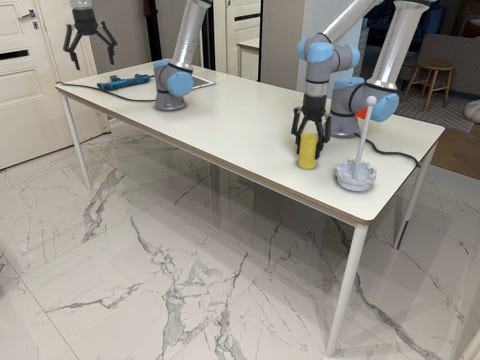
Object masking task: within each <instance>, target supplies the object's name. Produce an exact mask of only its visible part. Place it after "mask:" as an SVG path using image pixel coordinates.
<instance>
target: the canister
mask: <svg viewBox="0 0 480 360" xmlns="http://www.w3.org/2000/svg"><path fill="white" fill-rule="evenodd" d="M318 142H319V139H318V134H317V132H316V133H315V132H309V131H307V132H302V134H301V140H300V149H299V154H298V159H297V165H298V167H299V168H301V169H305V170H311V169H314V168H315V167H316V166H317V160H315V153H316V146H317V143H318Z"/></svg>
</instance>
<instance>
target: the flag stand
mask: <svg viewBox="0 0 480 360" xmlns="http://www.w3.org/2000/svg"><path fill="white" fill-rule="evenodd" d="M376 102H377V99H376V97H374V96H369V97H368V98H367V99H366V103H367V105H368V106H367V107H366V108H364V109H363V110H361V111H360V112H358V113H357V114H355V116H357V117H358V119H359V118H360V119H362V120H363V123H362V124H363V125H362V130H361V134H360V135H361V138H360V139H359V143H358V147H357V154H356V158H347V161H344V160H339V161H338V162H337V164H336V166H335V171H334V173H335V176H336V182H337V184H338V185H339V186H340V187H341V188H343V189H346V190H349V191H353V192H364V191H366V190H368V189H370V187H371V185H372V184H373V183H374V182H375V181H376V179H377V173H378V169H377V168H376V166H370V165H371V163H370V162H369V161H366V160H362V157H363V152H364V147H365V143H366V141H365V139H367V134H368V131H369V126H370V121H371V120H370V117H371V112H372V108H373V105H375V104H376Z"/></svg>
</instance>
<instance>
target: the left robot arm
mask: <svg viewBox="0 0 480 360" xmlns="http://www.w3.org/2000/svg"><path fill="white" fill-rule="evenodd" d="M68 1H69V5H70V8H71V13H72V17H73V23H74V24H73V23H72V24H70V23H66V24H65V27H66V32H65V36H64V41H63V46H62V51H64V52H65V53H69V57H70V60H71V62H73V63H74V65H75V69H76V71H81V67H80V63H79V60H78V59H79V58H78V56H77V52H75V50H76V48H77V46H78V45H79V43H80V40H81V39H82V38H83V36H84V37H87V36H94V35H96V36H97V37H98V38H99V39H100V40H101V41H102V42H104V43H105V45H107V46H106V49H107V55H108V59H109V64H110V65H112V66H114V65H115V61H114V56H115V55H116V54H115V47H116V46H118V42H117V41H116V39H115V37H114V36H113V35H112V33H111V32H110V30H109V29H108V27H107V25H106V21H104V20H100V21H97V20H96V15H95V10H94V9H93V8H92V7H93V1H92V0H68ZM212 3H213V0H186V4H185V7H184V12H183V16H182V20H181V24H180V28H179V32H178V36H177V40H176V44H175V48H174V52H173V57H172V58H170V59H161V60H156V61H154V62H153V73H154V74H153V75H155V77H154V82H155V88H156V97H155V99H132V98H127V97H124V96H121V95H118V94H115V93H113V92H110V91H107V90H102V89H100V88H99V87H95V86H89V85H82V84H75V83H74V84H73V83H64V82H62V81H57V82H56V83H55V84H56V85H58V84H62V85H64V86H73V87H83V88H89V89H92V90H97V91H100V92H104V93H107V94H110V95H112V96H115V97H117V98H121V99H124V100H127V101H130V102H154V106H155V107H154V108H155V109H156V110H158V111H160V112H176V111H180V110H183V109H184V108H186V101H185V98H184V97H185V96H187V95H188V94H190V93H191V92H192V91H193V90H192V88H193V84H194V82H193V78H192V74H193V73H194V67H193V65H192V63H193V61H194V60H193V59H194V57H195V52H196V49H197V46H198V41H199V38H200V34H201V30H202V28H203V27H202V26H203V23H204V19H205V15H206V11H207V9H209V8H211V7H212ZM98 27H99V28H101V29H102V31H104V33H105V35H106V36H107V38H108V39H109V40H108V39H107V38H106V37H105V36H104V35H103V34H102V33H101V32H100V31H99V30H97V29H98ZM74 29H75V30H76V31H77V32H76V33H75V36H74V38H73V40H72V34H73V31H74ZM71 40H72V41H71Z"/></svg>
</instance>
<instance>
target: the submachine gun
mask: <svg viewBox="0 0 480 360" xmlns="http://www.w3.org/2000/svg"><path fill="white" fill-rule="evenodd" d="M152 78H155V74H152V75H149V74H146V73H145V74H140V73H135V74H134V77H130V78H121V77H118V75H116V74H114V75H109V79H110V80H111V81H110V82H103V83H102V82H96V88H98V89H102V90H105V91H107V90H112V89H113V90H117V88H120V87H121V88H122V87H126V86H130V85H135V84H140V83H145V82H146V83H147V82H149V81H150V80H151V79H152Z"/></svg>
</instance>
